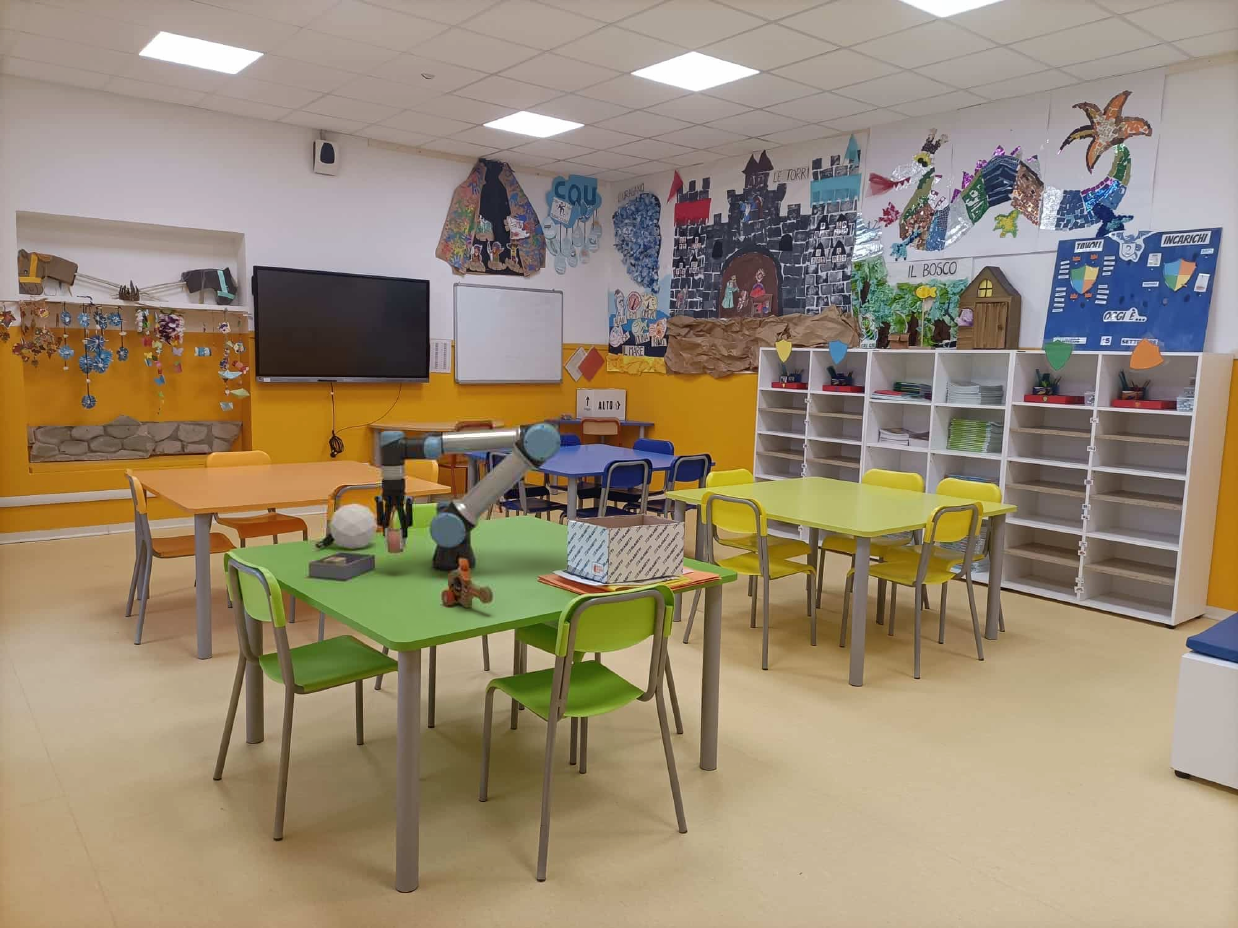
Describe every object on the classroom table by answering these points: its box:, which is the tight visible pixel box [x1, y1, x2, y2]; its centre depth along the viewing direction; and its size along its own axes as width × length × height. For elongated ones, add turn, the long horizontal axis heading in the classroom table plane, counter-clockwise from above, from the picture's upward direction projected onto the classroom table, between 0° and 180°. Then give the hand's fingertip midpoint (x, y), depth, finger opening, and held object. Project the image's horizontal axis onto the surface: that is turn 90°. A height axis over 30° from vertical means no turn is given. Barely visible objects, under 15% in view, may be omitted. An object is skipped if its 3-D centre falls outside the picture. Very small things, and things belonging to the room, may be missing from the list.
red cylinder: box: [387, 528, 404, 554], centre depth 289 cm, size 5×5×7 cm
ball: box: [315, 495, 378, 551], centre depth 331 cm, size 17×25×24 cm
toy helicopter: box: [441, 558, 494, 609], centre depth 253 cm, size 8×21×14 cm, turn 44°
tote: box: [308, 551, 376, 582], centre depth 292 cm, size 18×14×5 cm
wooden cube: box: [324, 557, 346, 565], centre depth 288 cm, size 5×5×5 cm
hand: (395, 547), depth 289 cm, fingers closed on red cylinder, 5 cm apart
